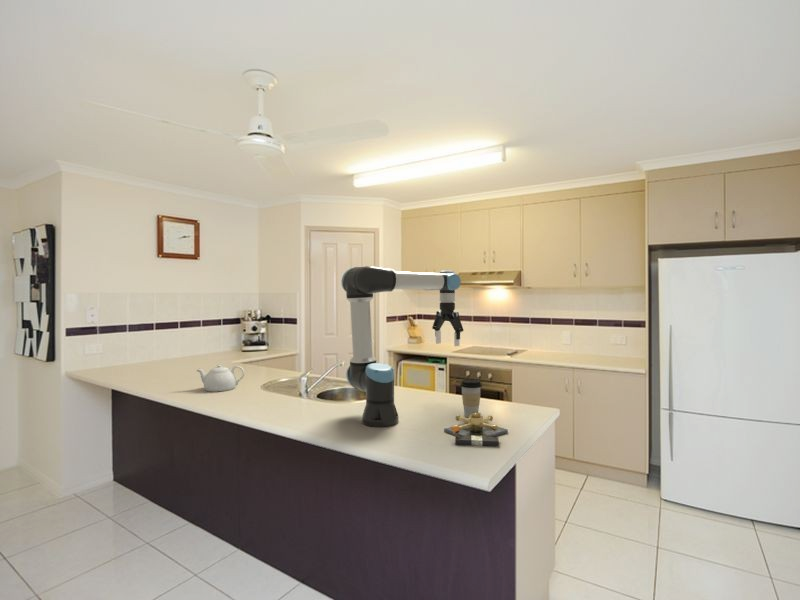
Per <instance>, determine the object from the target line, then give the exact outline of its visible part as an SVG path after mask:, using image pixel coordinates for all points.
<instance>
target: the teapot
mask: <svg viewBox="0 0 800 600" xmlns="http://www.w3.org/2000/svg"><path fill="white" fill-rule="evenodd" d="M236 368H239V369H240V371H241V372H242V375H241V377H240V378H239V379H238V378H237V376H236V374H235V372H234V370H235V369H236ZM196 372H198V373H199V374H200V379H201V382H202V383H203V388H204V390H205V391H206V392H209V391H211V392H210V393H218V391H220V392H226V391H227V392H228V391H231V390H234V389H235V388H236V387H237V386H238V385H239V382H241V380H242V379H243V378H244V377H245V369H244V368H243V367H242V366H240V365H234V366H233V367H232V369H231V368H228V367H225V366H222V364H217V365H216V367H213V368H211V369H210V370H209V371H208V372H207V373H205V371H204V370H203V369H202V368H198V369H196ZM237 379H238V380H237Z"/></svg>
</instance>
